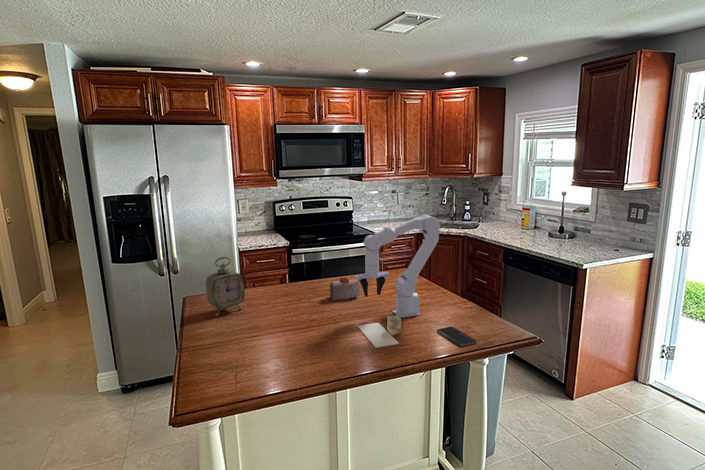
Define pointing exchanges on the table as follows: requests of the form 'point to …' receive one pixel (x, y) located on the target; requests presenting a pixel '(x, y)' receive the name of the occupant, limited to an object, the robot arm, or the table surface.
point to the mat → (377, 335)
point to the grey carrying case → (344, 289)
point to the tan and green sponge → (394, 325)
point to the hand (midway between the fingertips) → (372, 295)
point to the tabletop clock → (225, 288)
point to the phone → (456, 336)
